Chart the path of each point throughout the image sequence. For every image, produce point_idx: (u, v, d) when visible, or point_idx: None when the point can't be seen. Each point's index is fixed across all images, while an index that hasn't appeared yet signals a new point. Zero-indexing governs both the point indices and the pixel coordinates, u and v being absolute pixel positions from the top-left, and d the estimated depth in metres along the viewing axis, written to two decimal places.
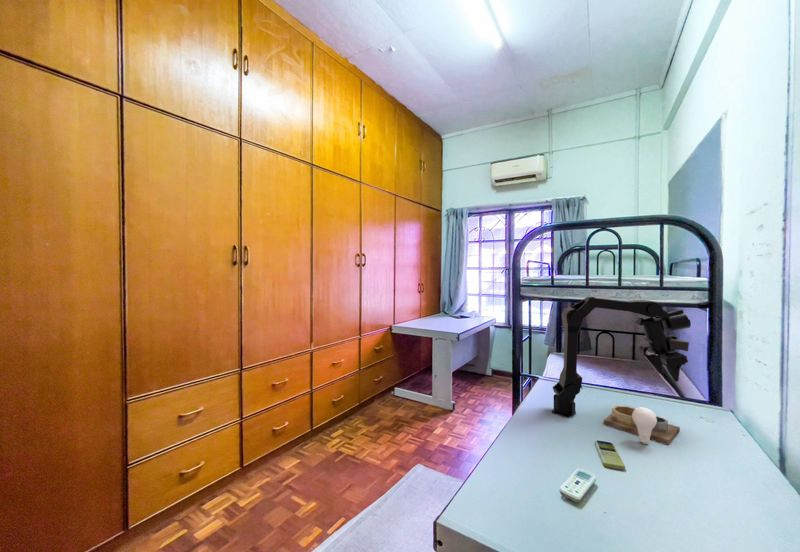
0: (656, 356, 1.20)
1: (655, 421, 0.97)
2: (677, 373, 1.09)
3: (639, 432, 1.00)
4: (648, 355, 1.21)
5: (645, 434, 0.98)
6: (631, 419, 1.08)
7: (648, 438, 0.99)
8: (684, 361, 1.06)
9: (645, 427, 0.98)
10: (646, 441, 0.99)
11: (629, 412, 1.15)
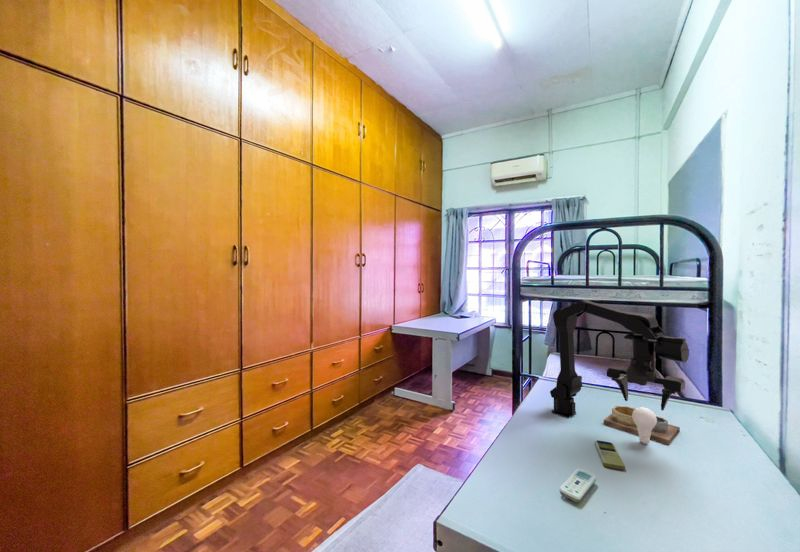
0: None
1: (655, 421, 0.97)
2: None
3: (639, 432, 1.00)
4: None
5: (645, 434, 0.98)
6: (631, 419, 1.08)
7: (648, 438, 0.99)
8: None
9: (645, 427, 0.98)
10: (646, 441, 0.99)
11: (629, 412, 1.15)
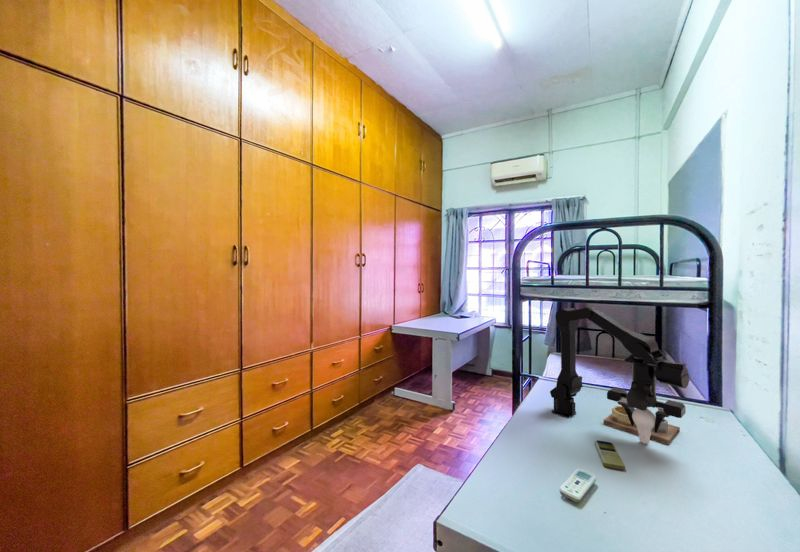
0: None
1: None
2: None
3: (639, 432, 1.00)
4: None
5: (645, 434, 0.98)
6: None
7: (648, 438, 0.99)
8: None
9: (645, 427, 0.98)
10: (646, 441, 0.99)
11: None
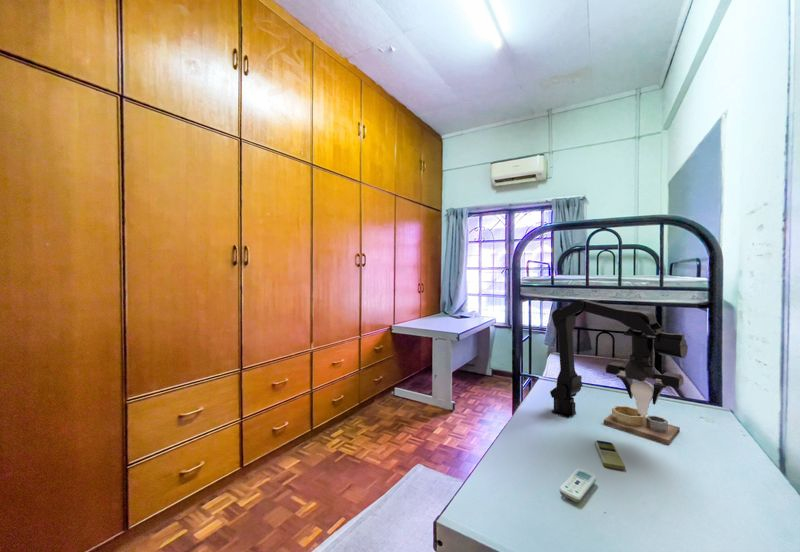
0: None
1: None
2: None
3: (637, 404, 1.01)
4: None
5: (643, 406, 0.99)
6: (631, 419, 1.08)
7: (646, 410, 0.99)
8: None
9: (643, 399, 0.99)
10: (644, 413, 0.99)
11: (629, 412, 1.15)
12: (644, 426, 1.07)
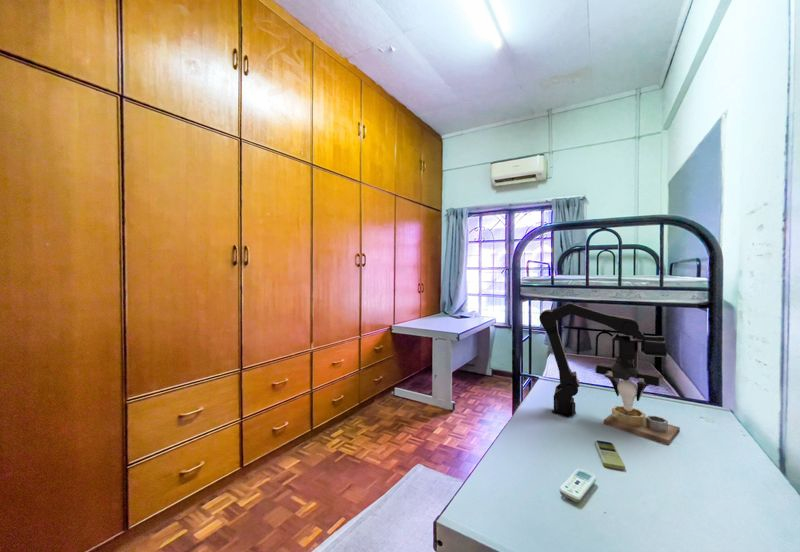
0: None
1: None
2: None
3: (623, 401, 1.12)
4: None
5: (628, 402, 1.11)
6: (631, 419, 1.08)
7: (631, 406, 1.11)
8: None
9: (628, 396, 1.10)
10: (629, 409, 1.11)
11: (629, 412, 1.15)
12: (644, 426, 1.07)
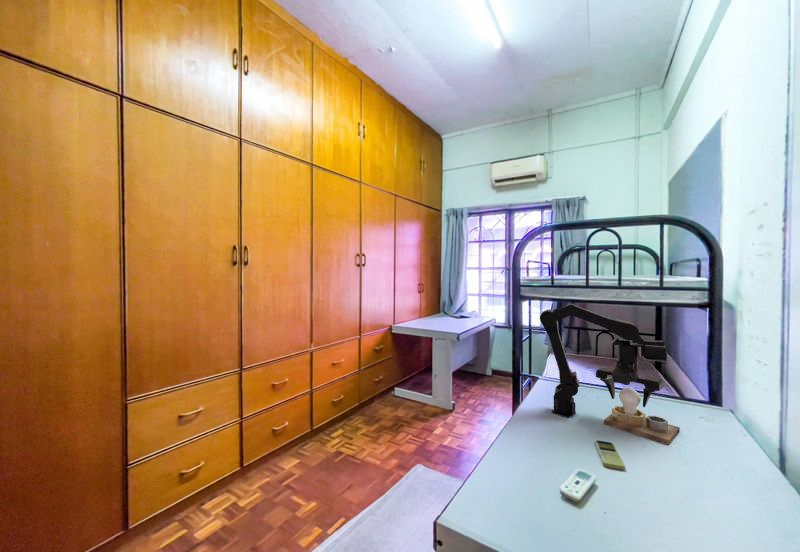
0: None
1: (639, 400, 1.09)
2: None
3: (625, 410, 1.12)
4: None
5: (630, 411, 1.11)
6: (631, 419, 1.08)
7: (633, 415, 1.11)
8: None
9: (630, 405, 1.10)
10: None
11: None
12: (644, 426, 1.07)
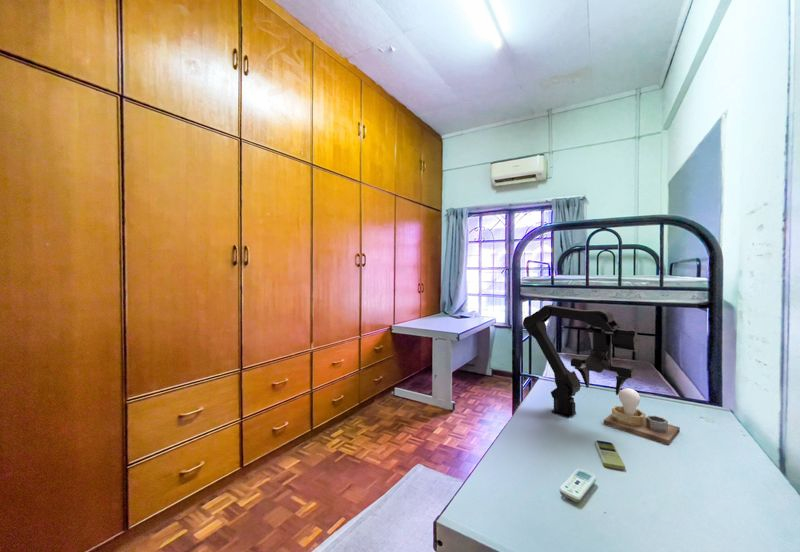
0: None
1: (639, 400, 1.09)
2: None
3: (625, 410, 1.12)
4: None
5: (630, 412, 1.11)
6: (631, 419, 1.08)
7: (632, 415, 1.11)
8: None
9: (630, 405, 1.10)
10: None
11: None
12: (644, 426, 1.07)
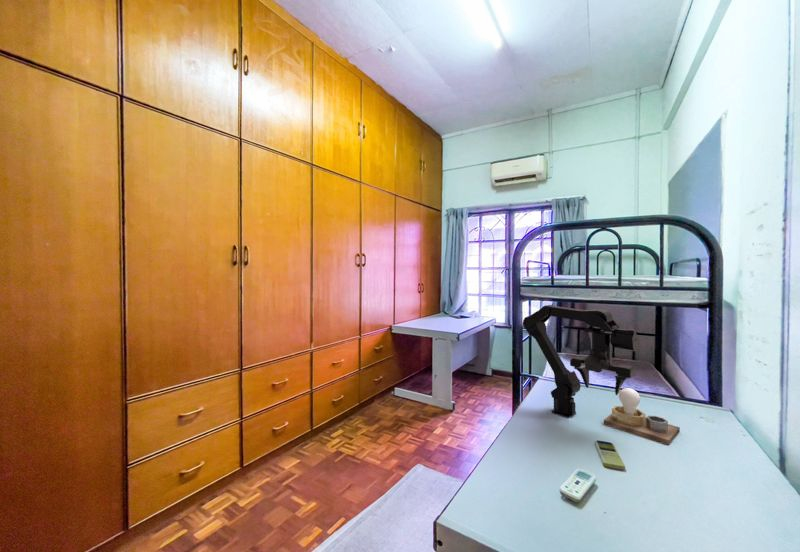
0: None
1: (639, 400, 1.10)
2: None
3: (625, 410, 1.12)
4: None
5: (630, 411, 1.11)
6: (631, 419, 1.08)
7: (632, 415, 1.11)
8: None
9: (630, 405, 1.10)
10: None
11: None
12: (644, 426, 1.07)
